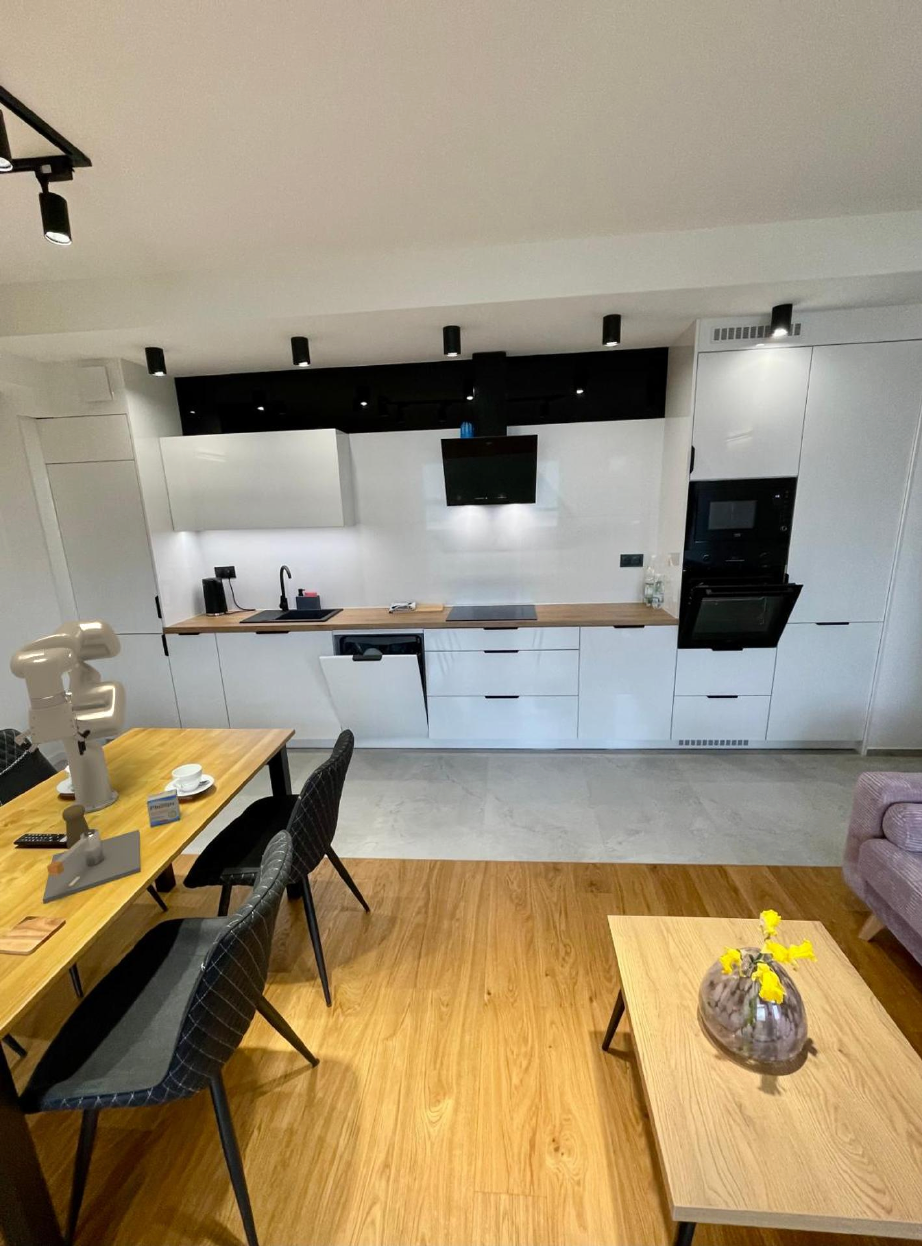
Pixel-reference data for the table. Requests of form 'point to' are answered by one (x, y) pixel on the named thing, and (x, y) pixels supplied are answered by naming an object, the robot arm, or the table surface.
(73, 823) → the cork
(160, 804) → the medicine box
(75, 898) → the table surface
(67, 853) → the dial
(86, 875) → the dial plate
